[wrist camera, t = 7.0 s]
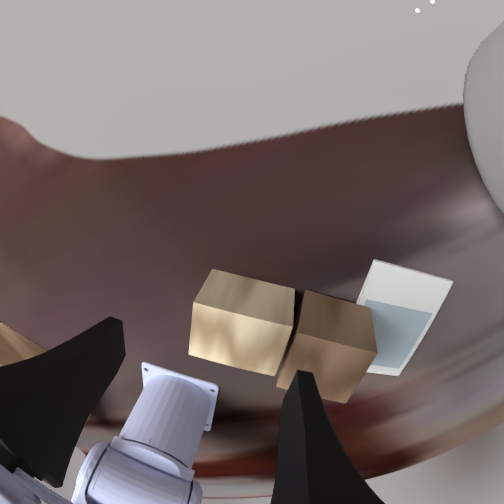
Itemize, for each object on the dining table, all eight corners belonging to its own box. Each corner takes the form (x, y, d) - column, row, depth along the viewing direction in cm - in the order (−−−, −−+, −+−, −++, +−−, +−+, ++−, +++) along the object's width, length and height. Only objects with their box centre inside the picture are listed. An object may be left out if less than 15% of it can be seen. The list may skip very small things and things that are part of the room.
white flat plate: (397, 373, 23) (398, 376, 23) (327, 363, 24) (327, 366, 23) (451, 280, 19) (453, 282, 19) (373, 258, 19) (375, 261, 19)
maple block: (274, 376, 19) (188, 354, 19) (279, 335, 23) (205, 316, 23) (293, 326, 17) (193, 302, 17) (294, 288, 21) (212, 268, 22)
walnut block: (345, 403, 18) (276, 386, 19) (345, 356, 22) (287, 341, 23) (377, 353, 16) (298, 332, 17) (370, 307, 20) (305, 289, 21)
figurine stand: (91, 414, 35) (73, 443, 30) (19, 372, 36) (0, 394, 31) (73, 364, 30) (48, 396, 25) (-3, 319, 31) (-27, 342, 25)
